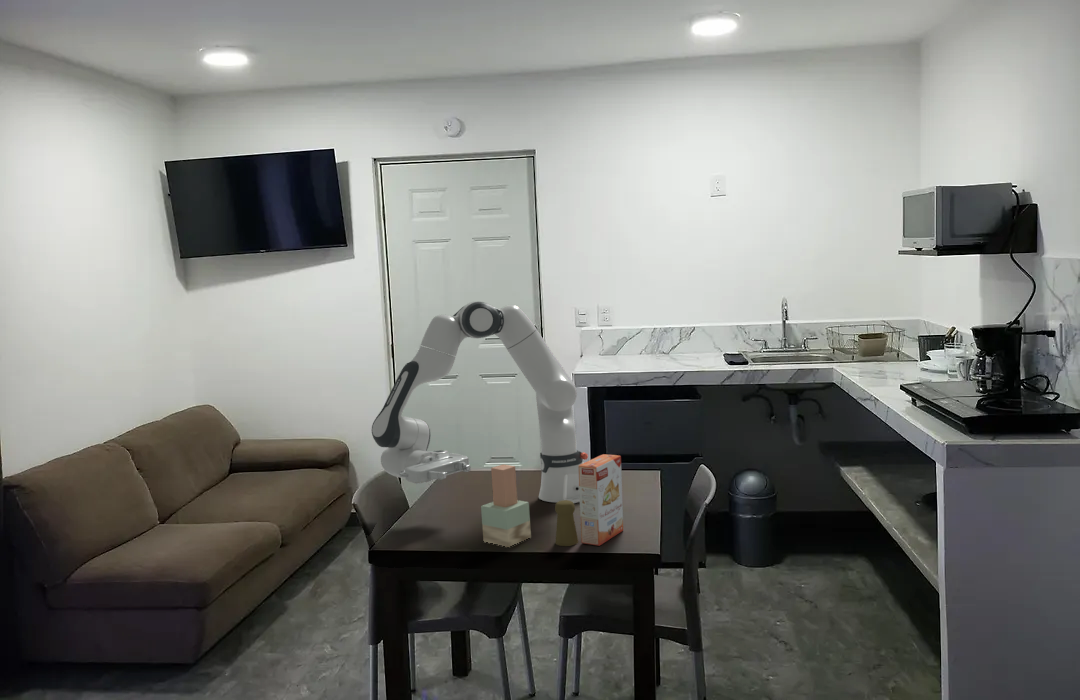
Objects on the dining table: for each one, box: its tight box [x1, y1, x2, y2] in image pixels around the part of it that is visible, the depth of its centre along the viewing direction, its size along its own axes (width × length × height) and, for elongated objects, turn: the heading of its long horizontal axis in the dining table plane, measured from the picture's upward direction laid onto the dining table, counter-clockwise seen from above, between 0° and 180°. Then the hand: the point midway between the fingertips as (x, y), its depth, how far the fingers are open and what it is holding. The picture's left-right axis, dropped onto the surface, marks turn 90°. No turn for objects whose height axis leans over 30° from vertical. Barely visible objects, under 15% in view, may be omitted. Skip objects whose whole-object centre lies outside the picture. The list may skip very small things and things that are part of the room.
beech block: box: [481, 520, 532, 548], centre depth 224 cm, size 9×9×5 cm
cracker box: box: [578, 453, 624, 547], centre depth 221 cm, size 14×6×21 cm, turn 148°
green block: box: [480, 499, 531, 530], centre depth 224 cm, size 9×9×5 cm
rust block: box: [490, 464, 518, 507], centre depth 223 cm, size 4×4×10 cm
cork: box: [554, 500, 579, 547], centre depth 219 cm, size 6×6×11 cm
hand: (456, 472), depth 235 cm, fingers open, 8 cm apart
